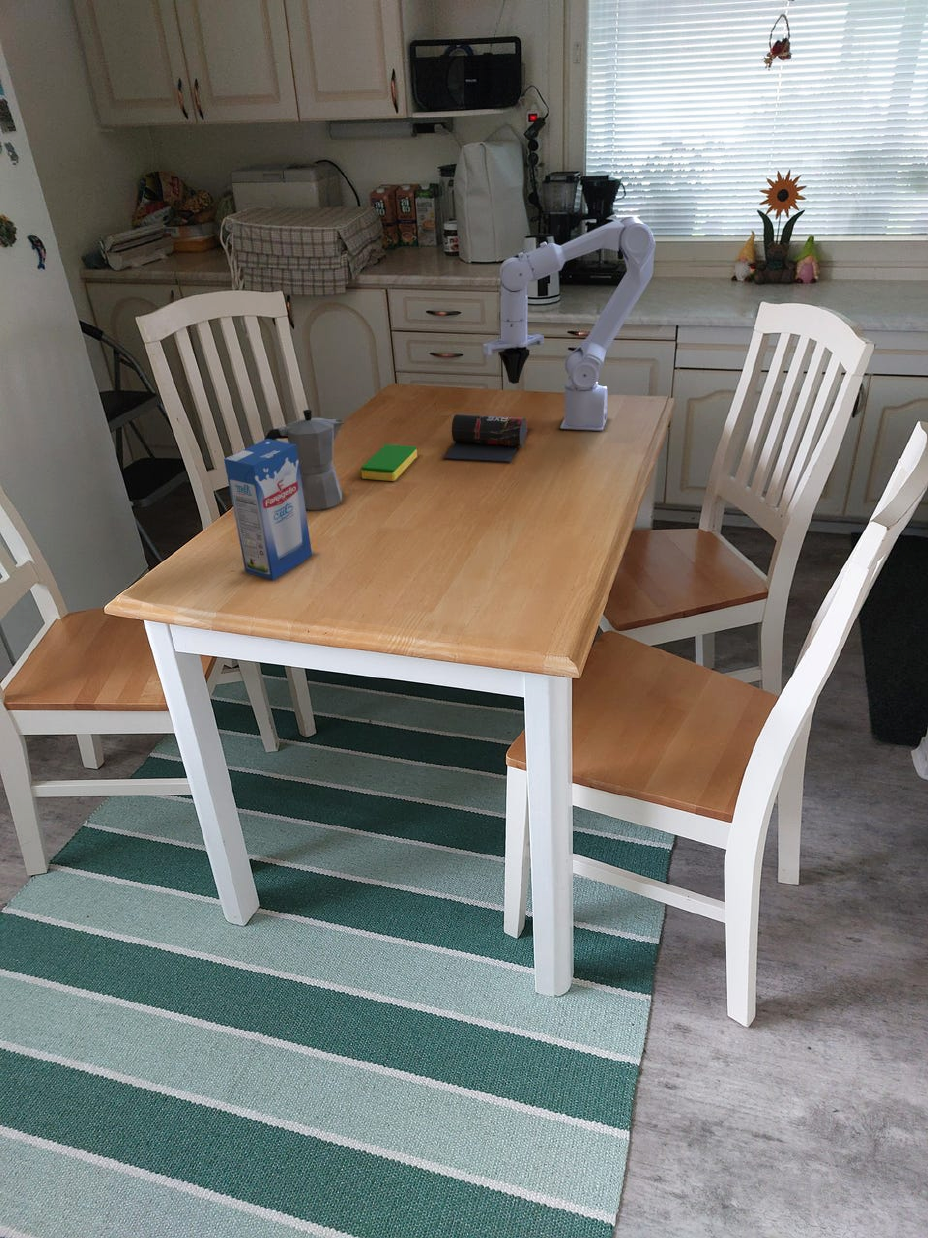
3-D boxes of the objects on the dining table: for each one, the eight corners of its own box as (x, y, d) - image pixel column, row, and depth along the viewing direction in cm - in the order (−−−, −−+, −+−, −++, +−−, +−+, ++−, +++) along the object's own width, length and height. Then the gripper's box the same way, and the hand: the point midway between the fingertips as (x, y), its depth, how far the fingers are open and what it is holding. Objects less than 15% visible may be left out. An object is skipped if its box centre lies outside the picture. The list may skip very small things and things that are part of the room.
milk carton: (273, 580, 150) (253, 465, 139) (245, 572, 153) (223, 458, 142) (312, 555, 157) (296, 444, 146) (285, 547, 160) (267, 438, 149)
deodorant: (519, 420, 191) (451, 416, 195) (519, 449, 193) (451, 444, 197) (526, 415, 196) (460, 411, 200) (526, 442, 198) (460, 438, 203)
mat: (528, 429, 205) (528, 428, 205) (509, 462, 189) (509, 461, 189) (467, 426, 209) (467, 425, 208) (444, 459, 192) (444, 457, 192)
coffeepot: (343, 485, 183) (333, 396, 173) (360, 501, 175) (350, 410, 166) (268, 502, 177) (253, 411, 168) (282, 519, 170) (267, 426, 160)
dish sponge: (361, 478, 185) (360, 467, 184) (386, 454, 196) (385, 443, 195) (394, 481, 183) (393, 470, 182) (417, 456, 194) (417, 445, 193)
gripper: (495, 327, 188) (496, 392, 195) (552, 317, 195) (551, 380, 202) (477, 321, 194) (478, 384, 201) (533, 311, 200) (532, 373, 207)
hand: (513, 382), depth 202 cm, fingers closed
